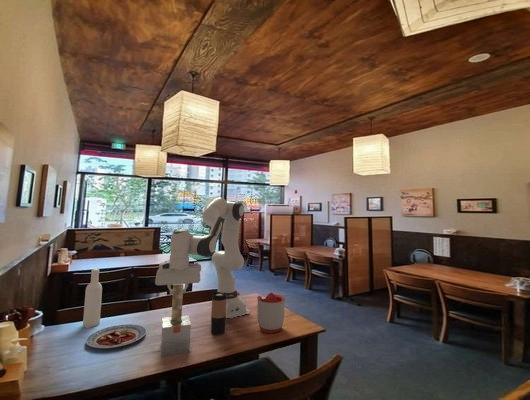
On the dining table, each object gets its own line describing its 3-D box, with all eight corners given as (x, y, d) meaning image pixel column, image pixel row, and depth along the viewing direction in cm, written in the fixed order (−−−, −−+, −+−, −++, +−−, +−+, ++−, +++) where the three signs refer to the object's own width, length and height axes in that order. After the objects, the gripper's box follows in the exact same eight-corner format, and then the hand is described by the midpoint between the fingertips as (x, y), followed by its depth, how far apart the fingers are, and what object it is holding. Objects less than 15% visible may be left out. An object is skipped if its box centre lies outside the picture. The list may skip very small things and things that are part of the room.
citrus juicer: (271, 320, 156) (272, 286, 157) (290, 331, 142) (291, 293, 143) (249, 326, 147) (250, 290, 148) (267, 338, 133) (268, 298, 134)
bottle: (80, 328, 138) (85, 271, 140) (84, 323, 145) (88, 268, 148) (98, 326, 141) (102, 270, 144) (101, 321, 148) (104, 267, 151)
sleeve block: (187, 340, 128) (188, 315, 129) (189, 352, 116) (191, 324, 117) (161, 343, 124) (162, 317, 125) (160, 356, 112) (162, 328, 113)
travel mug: (212, 336, 133) (214, 296, 134) (208, 330, 139) (210, 292, 141) (227, 334, 136) (228, 295, 138) (222, 328, 143) (223, 291, 144)
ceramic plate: (113, 357, 111) (113, 350, 111) (72, 345, 120) (73, 339, 120) (157, 333, 135) (157, 327, 135) (120, 325, 144) (121, 319, 144)
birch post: (180, 326, 124) (182, 283, 125) (181, 330, 120) (183, 286, 121) (170, 327, 122) (173, 284, 124) (171, 331, 118) (173, 286, 120)
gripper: (200, 261, 130) (199, 290, 129) (156, 263, 123) (154, 293, 122) (202, 263, 124) (201, 293, 123) (156, 265, 117) (154, 297, 116)
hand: (177, 293), depth 122 cm, fingers closed on birch post, 4 cm apart
